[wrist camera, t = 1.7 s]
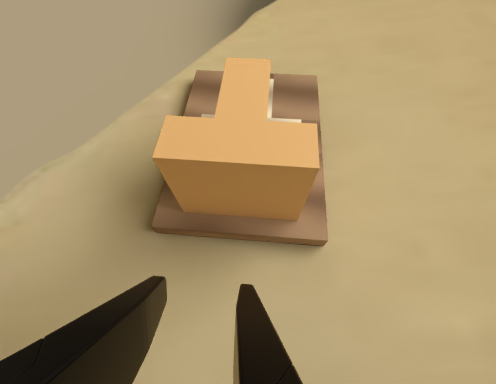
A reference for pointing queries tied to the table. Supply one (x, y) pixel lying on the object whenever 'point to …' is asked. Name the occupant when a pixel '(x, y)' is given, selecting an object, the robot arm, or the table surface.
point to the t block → (239, 152)
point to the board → (250, 228)
